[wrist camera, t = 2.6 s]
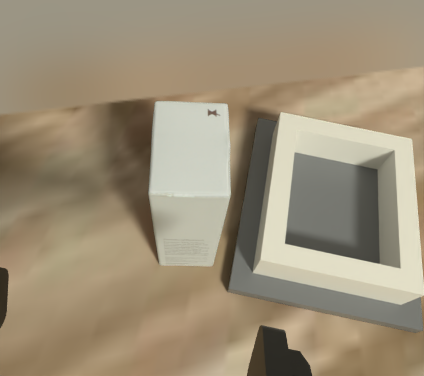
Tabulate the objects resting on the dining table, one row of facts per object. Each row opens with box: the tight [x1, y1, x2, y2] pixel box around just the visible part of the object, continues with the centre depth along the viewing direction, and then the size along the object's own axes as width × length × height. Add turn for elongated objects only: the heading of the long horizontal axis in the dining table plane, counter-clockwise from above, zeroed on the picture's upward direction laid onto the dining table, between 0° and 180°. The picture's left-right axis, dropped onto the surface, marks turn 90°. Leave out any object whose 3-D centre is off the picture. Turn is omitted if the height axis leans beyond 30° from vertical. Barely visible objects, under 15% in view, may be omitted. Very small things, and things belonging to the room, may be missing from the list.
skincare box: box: [148, 101, 231, 266], centre depth 25 cm, size 6×4×12 cm
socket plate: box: [228, 112, 424, 333], centre depth 30 cm, size 14×16×4 cm
